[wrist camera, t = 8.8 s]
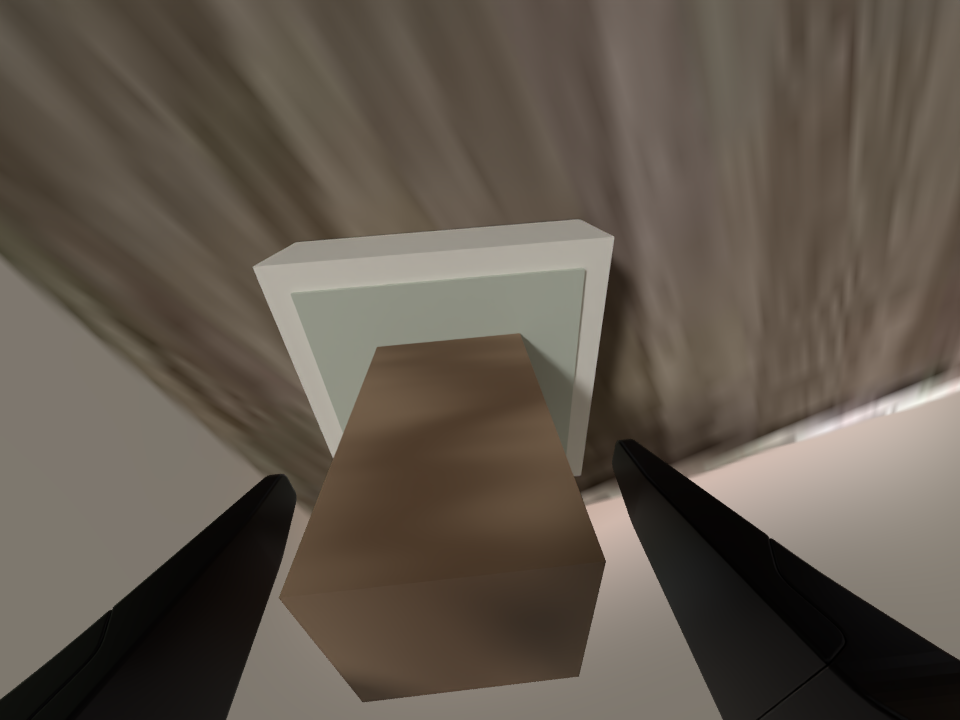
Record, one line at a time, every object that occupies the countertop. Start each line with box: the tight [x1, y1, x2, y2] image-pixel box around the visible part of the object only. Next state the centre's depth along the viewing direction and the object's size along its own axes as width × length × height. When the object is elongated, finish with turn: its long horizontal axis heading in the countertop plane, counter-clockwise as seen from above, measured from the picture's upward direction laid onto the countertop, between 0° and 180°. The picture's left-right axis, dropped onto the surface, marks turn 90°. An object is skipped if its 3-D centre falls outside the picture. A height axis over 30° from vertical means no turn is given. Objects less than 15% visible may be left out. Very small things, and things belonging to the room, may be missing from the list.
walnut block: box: [279, 333, 606, 702], centre depth 9 cm, size 4×4×7 cm
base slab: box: [253, 219, 614, 476], centre depth 13 cm, size 10×10×3 cm
